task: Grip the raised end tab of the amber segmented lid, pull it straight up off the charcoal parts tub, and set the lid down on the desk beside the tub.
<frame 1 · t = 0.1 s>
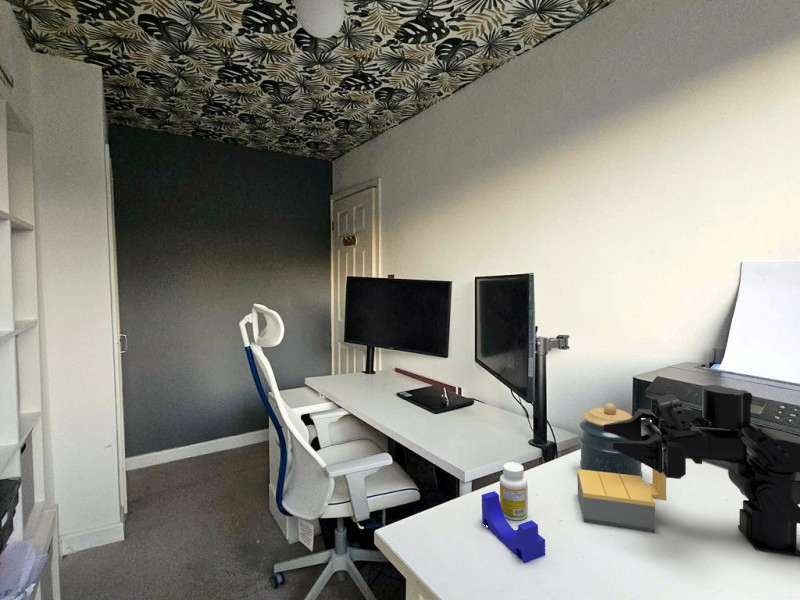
hand: (607, 435, 76), 17 cm above the table, tool horizontal, fingers open, 9 cm apart
parts tub: (613, 512, 79), on the table
supplement bottle: (514, 514, 80), on the table
snap lid: (613, 493, 79), point 4 cm above the table, touching parts tub
canister: (610, 477, 93), on the table
blue semicircular mounting bracket: (511, 540, 72), on the table
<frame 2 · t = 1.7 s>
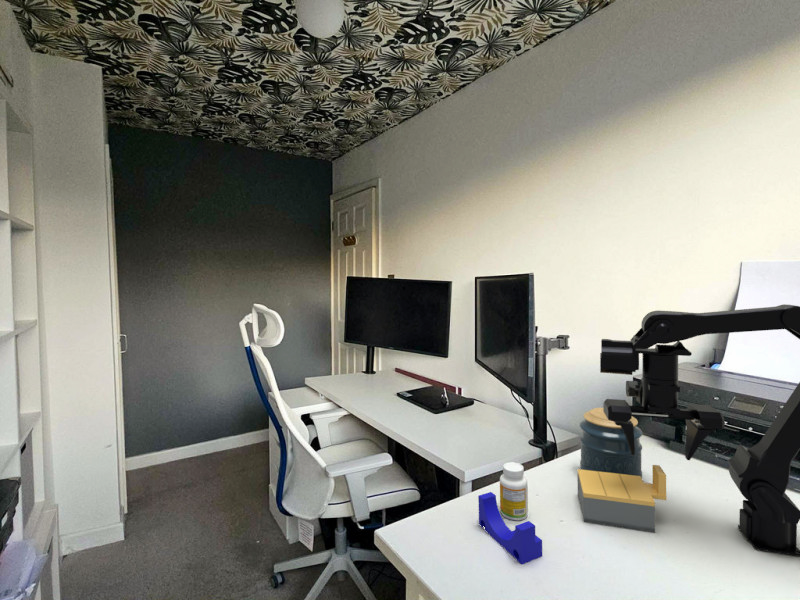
hand: (659, 456, 76), 12 cm above the table, tool pointing down, fingers open, 9 cm apart
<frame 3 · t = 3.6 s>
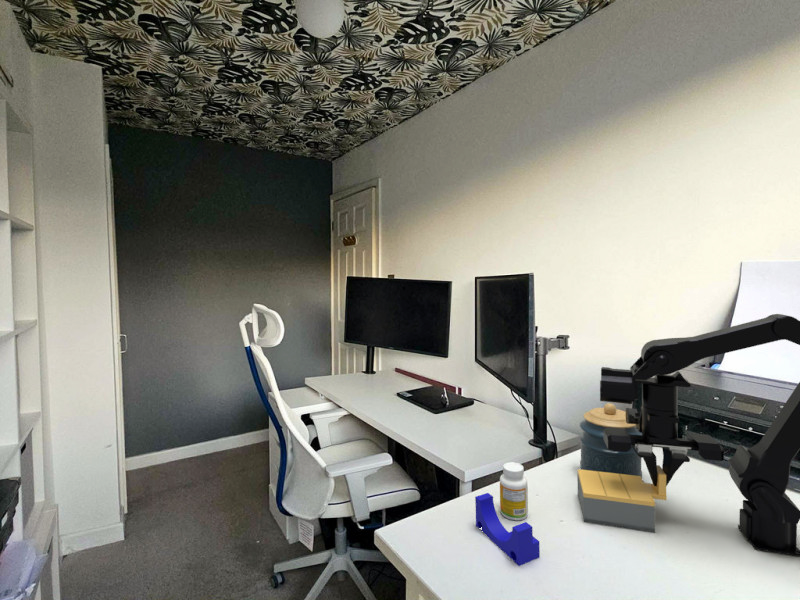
hand: (659, 485, 76), 7 cm above the table, tool pointing down, fingers closed on snap lid
snap lid: (613, 493, 79), point 4 cm above the table, touching gripper, parts tub
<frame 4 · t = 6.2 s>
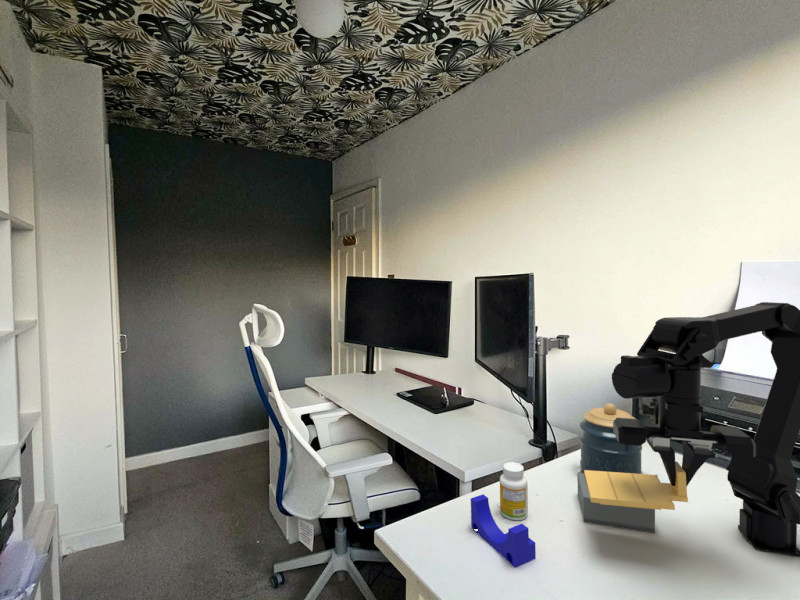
hand: (678, 485, 66), 12 cm above the table, tool pointing down, fingers closed on snap lid
snap lid: (625, 495, 69), point 9 cm above the table, touching gripper
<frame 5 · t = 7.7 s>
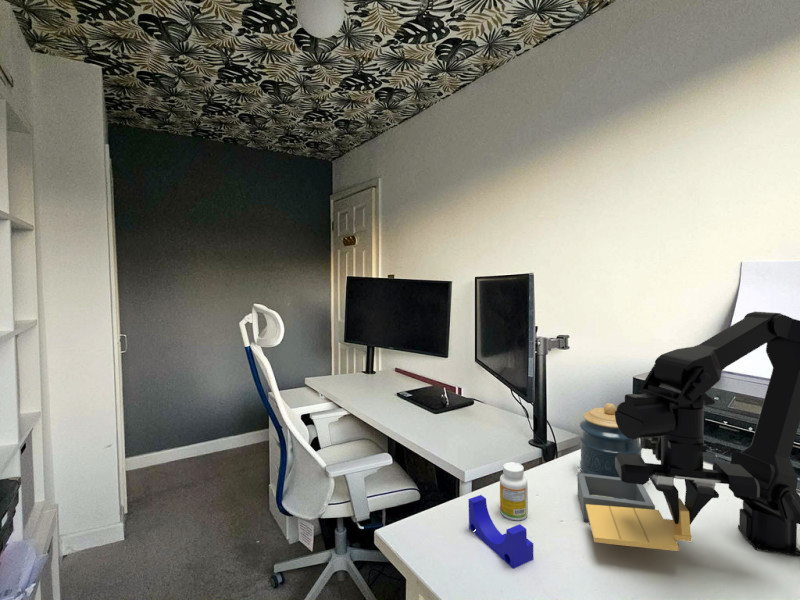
hand: (681, 523, 65), 6 cm above the table, tool pointing down, fingers closed on snap lid
snap lid: (628, 533, 68), point 3 cm above the table, touching gripper
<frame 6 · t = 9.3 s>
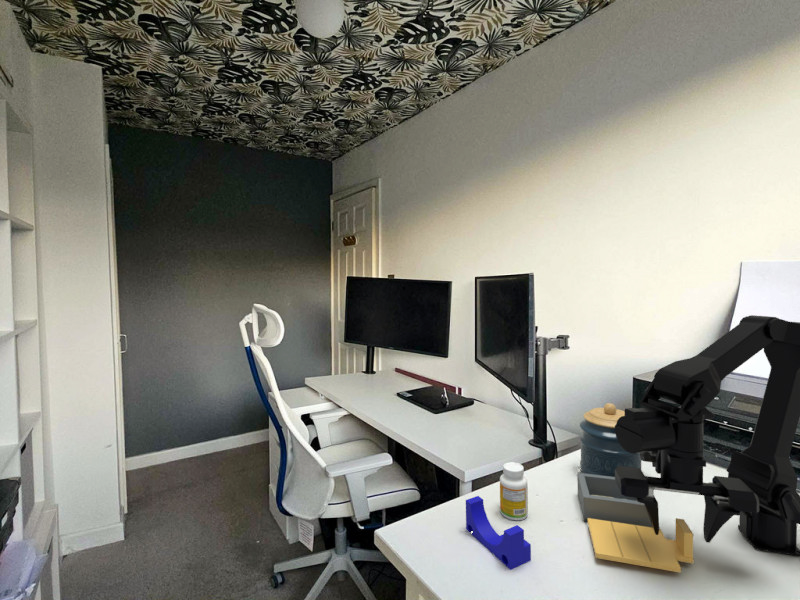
hand: (680, 537, 65), 4 cm above the table, tool pointing down, fingers open, 7 cm apart
snap lid: (629, 550, 68), on the table
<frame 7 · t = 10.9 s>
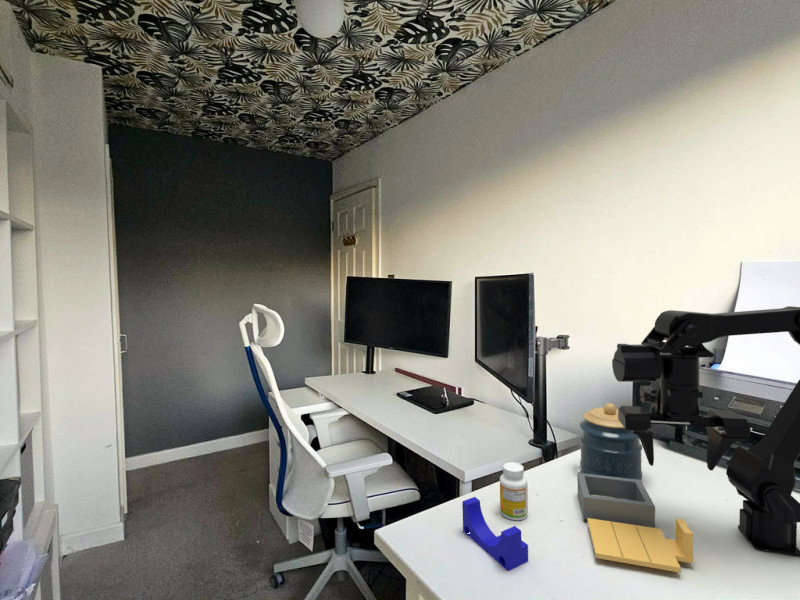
hand: (679, 466, 71), 13 cm above the table, tool pointing down, fingers open, 9 cm apart
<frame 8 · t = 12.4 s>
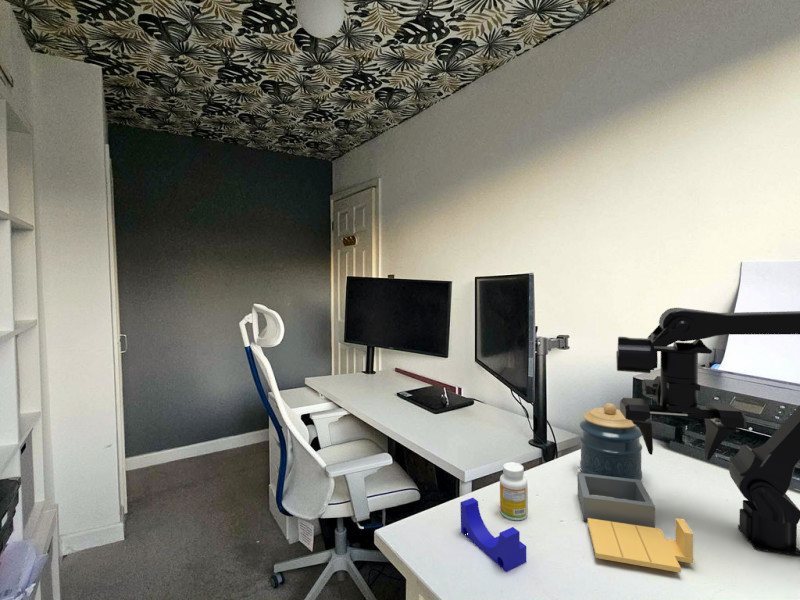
hand: (678, 456, 74), 13 cm above the table, tool pointing down, fingers open, 9 cm apart
at the end: snap lid inside the target area (0.5 cm from its centre), on the table; snap lid touching table; snap lid tilted 0° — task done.
